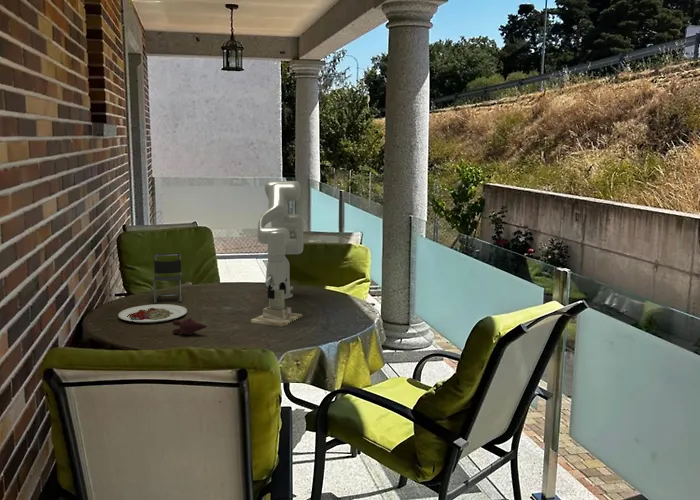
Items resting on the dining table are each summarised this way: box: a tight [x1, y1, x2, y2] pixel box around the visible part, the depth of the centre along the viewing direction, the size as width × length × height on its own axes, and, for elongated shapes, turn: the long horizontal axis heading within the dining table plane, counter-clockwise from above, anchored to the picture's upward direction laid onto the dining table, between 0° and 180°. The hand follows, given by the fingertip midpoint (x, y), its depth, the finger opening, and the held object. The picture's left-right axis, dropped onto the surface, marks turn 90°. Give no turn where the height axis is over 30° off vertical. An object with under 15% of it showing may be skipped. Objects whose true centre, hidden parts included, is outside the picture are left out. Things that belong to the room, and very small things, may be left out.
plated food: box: [117, 303, 188, 324], centre depth 298 cm, size 30×30×3 cm
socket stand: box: [250, 306, 304, 328], centre depth 293 cm, size 18×16×5 cm
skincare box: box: [268, 289, 286, 311], centre depth 292 cm, size 6×4×12 cm
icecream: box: [172, 317, 207, 336], centre depth 269 cm, size 7×8×15 cm
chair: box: [152, 252, 183, 304], centre depth 327 cm, size 13×17×22 cm
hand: (276, 296), depth 292 cm, fingers open, 9 cm apart
